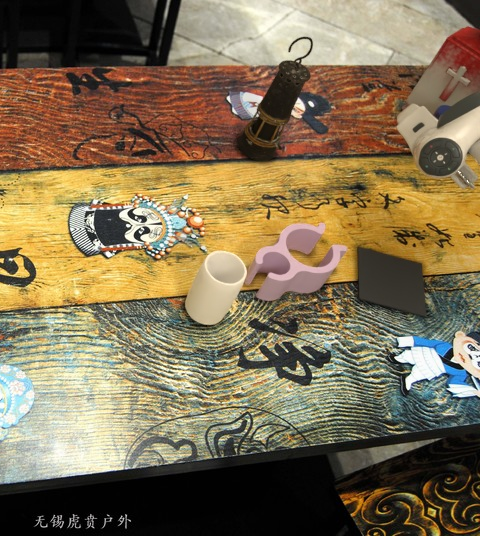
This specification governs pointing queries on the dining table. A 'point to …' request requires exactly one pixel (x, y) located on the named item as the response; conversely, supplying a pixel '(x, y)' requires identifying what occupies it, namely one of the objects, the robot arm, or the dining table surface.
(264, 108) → the lantern
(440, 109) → the lid
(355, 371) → the dining table surface
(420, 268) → the mat
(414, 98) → the red white cross box
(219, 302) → the cup
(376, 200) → the dining table surface
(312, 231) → the clip
